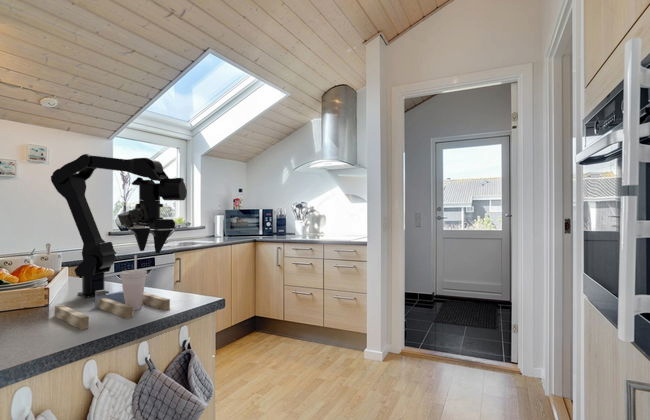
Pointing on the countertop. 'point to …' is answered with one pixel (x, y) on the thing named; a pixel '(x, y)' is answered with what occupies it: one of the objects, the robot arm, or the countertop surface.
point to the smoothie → (133, 286)
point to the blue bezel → (109, 296)
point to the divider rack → (108, 309)
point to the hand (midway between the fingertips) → (149, 252)
